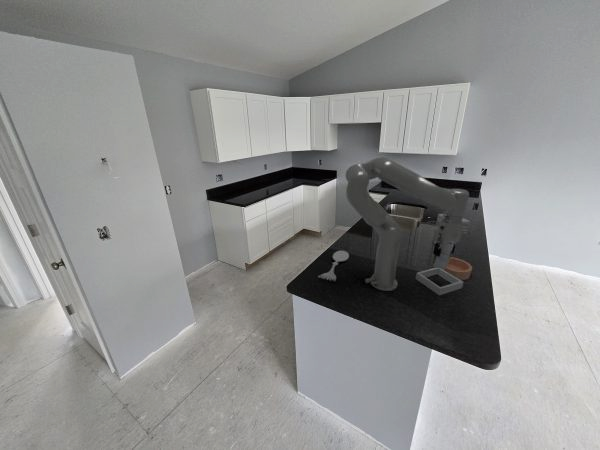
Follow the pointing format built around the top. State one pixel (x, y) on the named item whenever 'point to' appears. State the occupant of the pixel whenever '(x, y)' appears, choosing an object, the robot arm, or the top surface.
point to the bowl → (459, 268)
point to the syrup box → (443, 256)
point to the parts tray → (445, 289)
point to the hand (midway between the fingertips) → (443, 253)
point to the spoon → (338, 257)
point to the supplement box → (464, 227)
